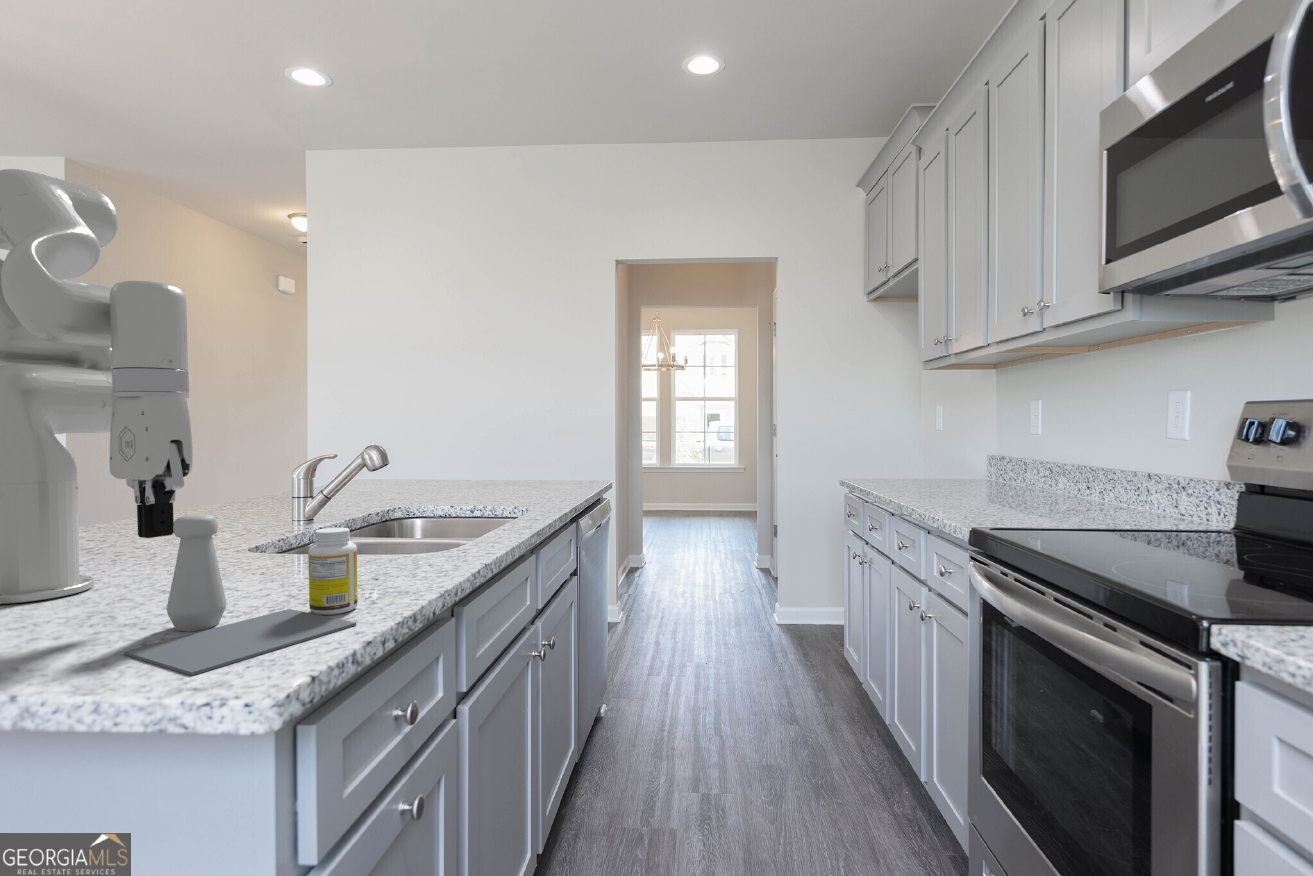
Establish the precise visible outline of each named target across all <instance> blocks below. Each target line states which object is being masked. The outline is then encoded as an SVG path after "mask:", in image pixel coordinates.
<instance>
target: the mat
mask: <svg viewBox="0 0 1313 876" xmlns="http://www.w3.org/2000/svg"><path fill="white" fill-rule="evenodd" d="M355 626H357V622H355V621H350V620H346V619H340V618H336V617H335V618H334V617H330V616H327V615H317V614H314V613H312V612H305V611H302V610H296V609H291V608H287V609H283V610H280V611H279V610H278V611H276V612H275V611H274V612H272V613H268V614H264V615H259V616H257V617H256V616H255V617H252V618H248V619H245V620H241V621H237V622H232V623H229V624H225V625H221V626H217V627H212V628H209V629H204V630H200V631H197V632H194V633H191V634H186V635H183V636H178V637H175V638H171V639H166V640H163V641H159V642H155V643H151V644H148V645H147V644H146V645H144V646H140V647H136V648H135V647H134V648H132V649H128V650H124V651H123V655H124V656H127V657H128V656H129V657H131V658H133V659H138V660H140V661H144V662H146V663H150V664H154V665H157V666H160V667H163V668H166V669H170V670H172V671H175V672H179V673H182V674H186V675H189V676H195V675H199V674H202V673H205V672H206V673H207V672H209V671H212V670H214V669H218V668H221V667H225V666H228V665H231V664H235V663H238V662H241V661H244V660H247V659H250V658H255V657H258V656H261V655H264V654H267V653H270V652H271V653H272V652H273V651H276V650H280V649H283V648H286V647H290V646H293V645H296V644H300V643H302V642H303V643H304V642H306V641H309V640H313V639H315V638H316V639H317V638H319V637H322V636H325V635H328V634H329V635H330V634H332V633H335V632H338V631H342V630H345V629H348V628H351V627H355Z"/></svg>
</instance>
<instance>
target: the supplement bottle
mask: <svg viewBox="0 0 1313 876" xmlns="http://www.w3.org/2000/svg"><path fill="white" fill-rule="evenodd" d="M314 531H315V532H314V545H312V546H311V547H310V548H309V549H308V557H307V558H308V561H307V562H308V595H309V596H308V597H309V598H308V599H309V601H308V603H309V610H310V613H312V614H316V615H321V616H331V615H332V616H333V615H340V614H344V613H348V612H351V611H352V610H355V609H356V608H357V606H358V603H359V601H358V599H359V598H358V596H359V594H358V550H357V549H358V548H357V545H356V544H355V543H353V542H350V541H351V534H350V532H351V531H350V528H348V527H327V528H320V529H317V530H316V529H315V530H314Z"/></svg>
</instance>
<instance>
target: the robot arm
mask: <svg viewBox="0 0 1313 876" xmlns="http://www.w3.org/2000/svg"><path fill="white" fill-rule="evenodd" d="M118 228H119V218H118V212H117V209H116V208H115V206H114V204H113V203H112V201H111V199H109V198H108V197H107V196H106V195H105V194H104V193H102V192H101V191H100V190H97V189H96V188H93V187H90V186H87V185H84V184H80V183H77V182H76V183H75V182H73V181H68V180H65V179H61V178H58V177H54V176H50V175H46V174H42V173H39V172H35V171H31V170H26V169H19V168H17V169H16V168H5V169H0V249H1V250H5V251H6V250H7V251H8V253H7V255H6V256H5V259H4V260H3V259H2V258H0V605H6V604H18V603H30V602H35V601H36V602H37V601H42V600H50V599H56V598H61V597H66V596H70V595H74V594H78V593H81V592H85V591H87V590H89V589H92V587H93V586H94V585H95V583H94V582H95V581H94V578H93V577H92V576H91V575H85V574H82V575H81V574H80V548H79V547H80V544H79V543H80V540H79V539H80V537H79V536H80V535H79V533H80V532H79V500H78V499H79V493H78V491H79V490H78V489H79V488H78V487H79V486H78V470H77V469H78V468H77V464H76V463H77V462H75V459H74V457H73V455H72V454H71V453H70V452H69V450H68V449H67V448H66V447H65V446H64V445H63V444H62V442H60V441H59V439H58V438H57V436H56V435H62V434H99V433H100V434H101V433H109V434H110V435H109V473H110V475H111V476H113V477H114V478H116V479H120V480H126V485H127V487H129V488H131V489H132V490H133V495H134V503H135V504H136V518H137V519H136V521H137V536H138V538H144V539H152V538H159V537H167V536H168V537H169V536H173V535H174V531H173V525H174V521H175V520H174V502H175V500H176V491H178V490H180V489H182V488H184V486H185V481H184V478H185V477H187V476H189V475H190V474H191V472H192V471H193V462H194V460H193V459H194V458H193V457H194V456H193V455H194V454H193V453H194V452H193V436H192V435H193V434H192V424H191V418H190V417H191V416H190V410H189V405H188V401H187V399H189V398H190V384H189V383H190V382H189V381H190V380H189V377H190V375H189V374H190V373H189V352H188V348H189V347H188V314H187V313H188V311H187V309H188V308H187V298H186V296H185V294H184V293H185V292H183V290H181V289H180V288H179V287H177V286H174V285H172V284H168V283H163V282H157V281H150V280H149V281H148V280H126V281H123V280H122V281H119V282H117V283H114V284H113V286H112V287H110V286H105V285H99V284H93V283H92V284H91V283H86V282H80V281H73V279H75V278H78V277H80V276H83V275H85V274H87V273H88V272H90V271H92V269H93V268H94V267H95V266H96V265H97V264H98V262H99V259H100V257H101V251H102V250H101V248H104V247H106V246H107V245H109V244H110V243H111V242H112V241H113V240H114V238H115V237H116V235H117V231H118ZM71 279H72V280H71Z"/></svg>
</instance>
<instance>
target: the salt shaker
mask: <svg viewBox="0 0 1313 876" xmlns="http://www.w3.org/2000/svg"><path fill="white" fill-rule="evenodd" d="M218 528H219V522H218V519H217V517H215V516H214V515H213V514H207V513H206V514H205V513H203V514H202V513H201V514H200V513H198V514H188V515H187V514H186V515H183V516H179V517H177V518H176V519H175V520H174V525H173V531H174V533H173V535H174V537H176V538H178V539H179V538H180V539H179V540H180V541H179V545H178V551H177V555H176V556H177V557H176V562H175V566H174V572H173V576H172V581H171V586H170V592H169V594H168V595H169V596H168V600H167V604H166V608H165V609H166V612H167V616H168V618H169V619H170V621H171V623H172V625H173V627H174V628H175V630H176V631H177V632H188V633H191V632H195V631H197V632H199V631H205V630H209V629H212V628H214V627H215V626H218V625H219V624H220V622H221V619H222V617H223V615H224V612H225V611H226V607H227V599H226V594H225V590H224V585H223V580H222V576H221V571H220V566H219V562H218V557H217V553H216V548H215V544H214V539H213V535H215V534H217V532H218V530H219V529H218Z"/></svg>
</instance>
